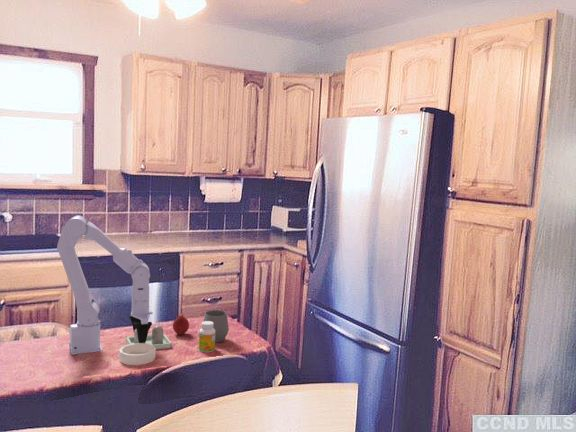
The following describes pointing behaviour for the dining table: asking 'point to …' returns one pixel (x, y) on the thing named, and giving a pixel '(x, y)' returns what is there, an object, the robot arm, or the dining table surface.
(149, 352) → the bowl
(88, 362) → the dining table surface
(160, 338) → the stone
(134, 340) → the stone
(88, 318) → the robot arm
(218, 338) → the cup
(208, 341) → the supplement bottle
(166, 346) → the tray
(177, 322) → the onion
